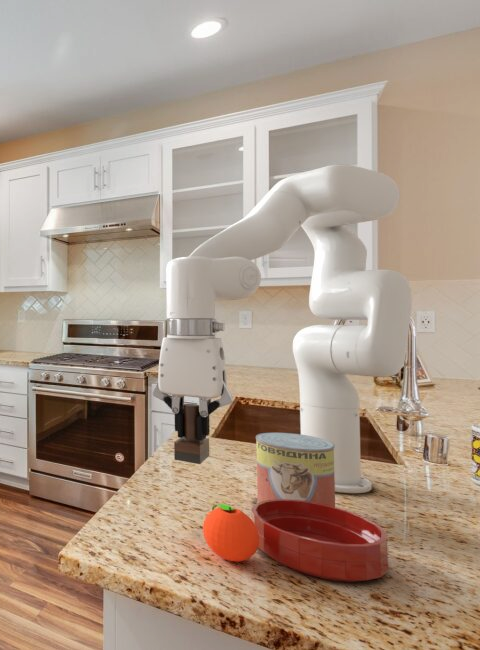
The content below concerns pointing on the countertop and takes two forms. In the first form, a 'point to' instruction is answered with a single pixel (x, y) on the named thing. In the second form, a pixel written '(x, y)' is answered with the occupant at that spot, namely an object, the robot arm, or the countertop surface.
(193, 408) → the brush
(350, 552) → the bowl
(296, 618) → the countertop surface
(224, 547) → the clementine
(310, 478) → the canned food
